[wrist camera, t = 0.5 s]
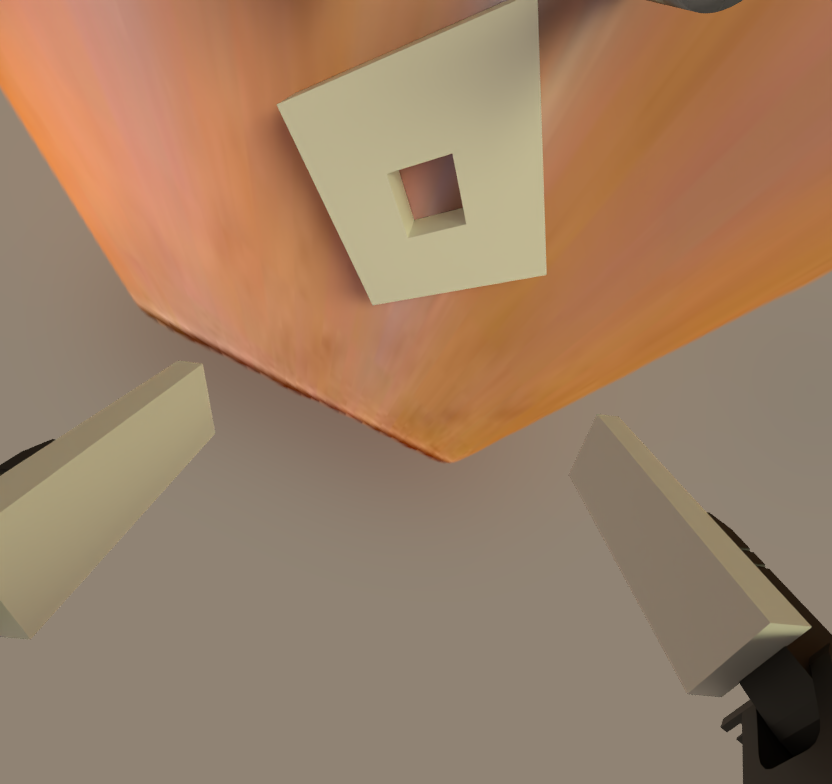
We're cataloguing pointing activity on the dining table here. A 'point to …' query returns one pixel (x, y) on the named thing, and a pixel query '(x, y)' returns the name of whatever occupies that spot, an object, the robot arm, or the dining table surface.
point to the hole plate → (434, 155)
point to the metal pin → (699, 4)
